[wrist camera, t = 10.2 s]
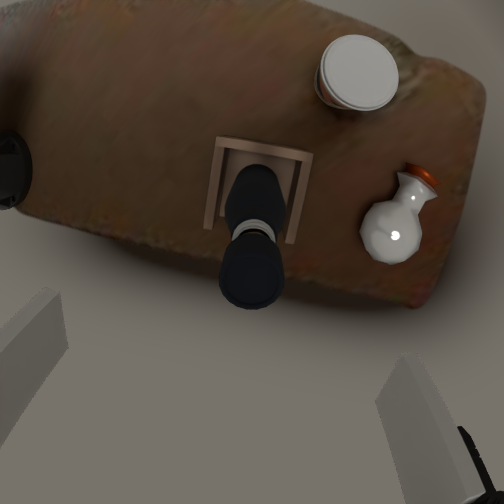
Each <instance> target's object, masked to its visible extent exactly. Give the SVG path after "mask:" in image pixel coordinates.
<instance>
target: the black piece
mask: <svg viewBox="0 0 504 504" xmlns="http://www.w3.org/2000/svg"><path fill="white" fill-rule="evenodd" d="M224 212H225V220H226V222H227V225H228V228H229V230H230V232H231V243H230V244H229V245H228V247H227V248H226V251H225V254H224V258H223V261H222V265H221V269H220V273H219V287H220V289H221V291H222V294H223V295H224V296H225V297H226V299H227V300H228V301H229V302H230V303H232V304H234V305H235V306H237V307H240V308H244V309H256V310H257V309H260V308H264V307H267V306H268V305H270V304H272V303H273V302H274V301H276V299H277V298H278V297H279V296H280V295H281V292H282V290H283V287H284V270H283V264H282V257H281V253H280V250H279V248H278V247H277V245H276V242H277V234H278V233H279V232H280V230H281V229H282V226H283V224H284V221H285V218H286V204H285V201H284V198H283V194H282V191H281V188H280V185H279V182H278V179H277V176H276V174H275V173H274V172H273V170H271V169H270V168H269V167H267V166H265V165H262V164H252V165H249V166H246V167H245V168H243V169H242V170H241V171H240V172H239V173H238V175H237V176H236V179H235V181H234V183H233V185H232V188H231V190H230V192H229V194H228V197H227V200H226V203H225V206H224Z"/></svg>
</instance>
